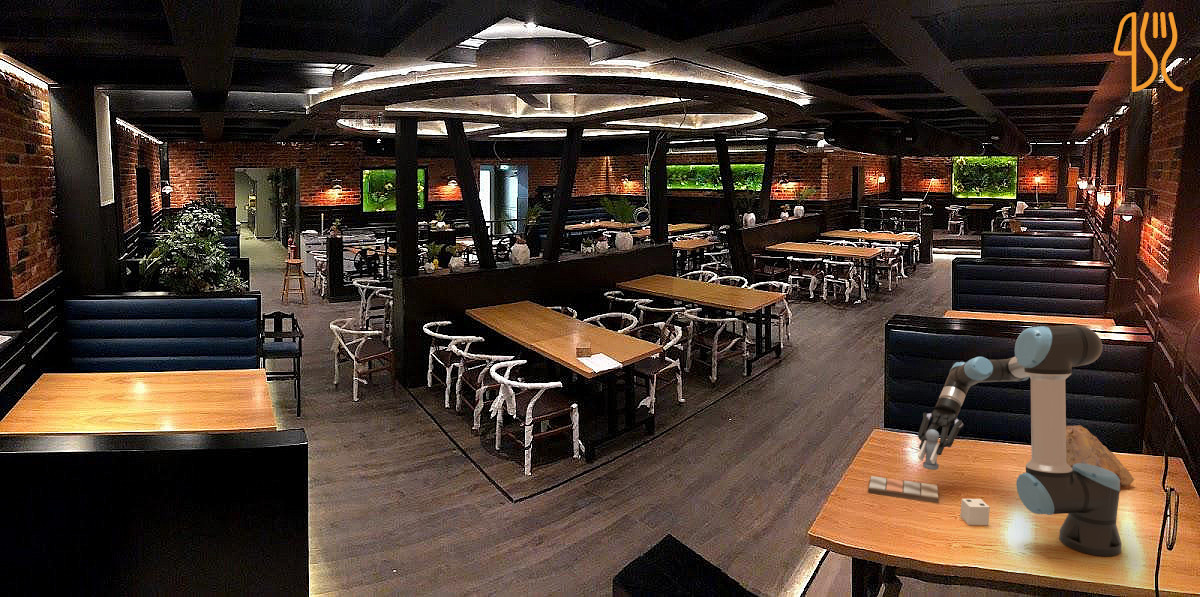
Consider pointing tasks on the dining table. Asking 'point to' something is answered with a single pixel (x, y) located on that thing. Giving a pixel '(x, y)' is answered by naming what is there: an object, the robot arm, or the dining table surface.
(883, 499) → the dining table surface
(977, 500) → the die
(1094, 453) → the rock
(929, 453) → the pawn
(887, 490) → the board
